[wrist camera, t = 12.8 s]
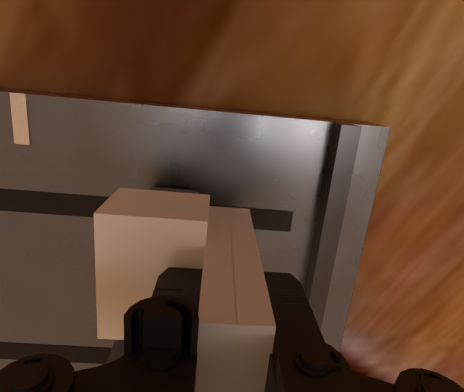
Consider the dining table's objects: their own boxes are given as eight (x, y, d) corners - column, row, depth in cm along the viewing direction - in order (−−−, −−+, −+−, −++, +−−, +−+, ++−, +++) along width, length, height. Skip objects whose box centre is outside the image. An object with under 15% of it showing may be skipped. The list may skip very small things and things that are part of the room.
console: (-220, 67, 15) (-326, 63, 12) (370, 122, 16) (402, 130, 13) (-131, 380, 20) (-190, 429, 17) (312, 400, 21) (326, 449, 18)
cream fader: (139, 167, 14) (93, 213, 9) (212, 173, 14) (207, 221, 9) (138, 254, 15) (97, 338, 10) (205, 258, 16) (198, 343, 10)
